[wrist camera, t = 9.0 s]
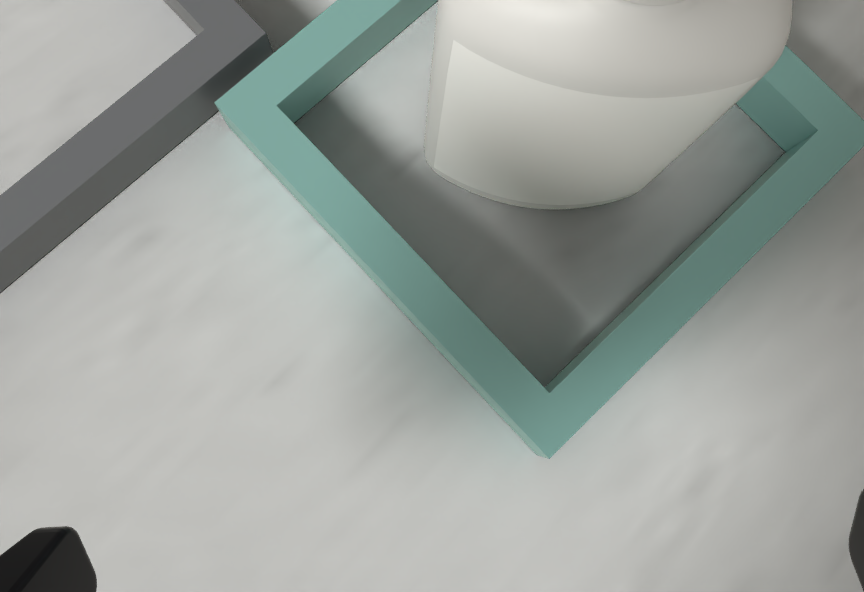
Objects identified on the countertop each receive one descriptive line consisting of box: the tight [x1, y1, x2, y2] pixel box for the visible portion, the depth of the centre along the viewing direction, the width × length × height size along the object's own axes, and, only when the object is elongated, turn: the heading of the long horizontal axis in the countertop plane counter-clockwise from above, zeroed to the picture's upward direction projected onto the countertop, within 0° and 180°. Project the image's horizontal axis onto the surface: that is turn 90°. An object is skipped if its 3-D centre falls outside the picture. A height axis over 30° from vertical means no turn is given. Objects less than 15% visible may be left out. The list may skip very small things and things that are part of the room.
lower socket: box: [214, 0, 864, 459], centre depth 18 cm, size 11×11×2 cm
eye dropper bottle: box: [424, 0, 793, 210], centre depth 13 cm, size 4×6×12 cm
